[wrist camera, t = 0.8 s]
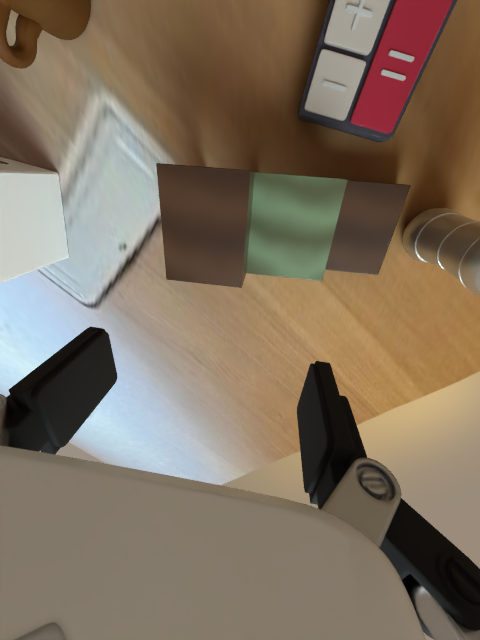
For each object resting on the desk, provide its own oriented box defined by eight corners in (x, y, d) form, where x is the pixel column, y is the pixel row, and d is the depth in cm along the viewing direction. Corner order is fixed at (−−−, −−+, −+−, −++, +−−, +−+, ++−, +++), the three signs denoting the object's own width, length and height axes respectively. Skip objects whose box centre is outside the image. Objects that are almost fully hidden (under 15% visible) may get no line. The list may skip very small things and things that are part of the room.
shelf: (198, 169, 34) (156, 163, 22) (396, 184, 32) (470, 186, 20) (199, 249, 39) (166, 279, 27) (368, 266, 37) (413, 307, 25)
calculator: (297, 113, 27) (369, -138, 19) (295, 119, 30) (354, -89, 22) (393, 140, 27) (506, -96, 19) (380, 143, 31) (469, -54, 22)
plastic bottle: (458, 207, 32) (667, 237, 15) (436, 257, 36) (586, 330, 18) (406, 204, 33) (552, 231, 16) (389, 255, 36) (494, 322, 19)
